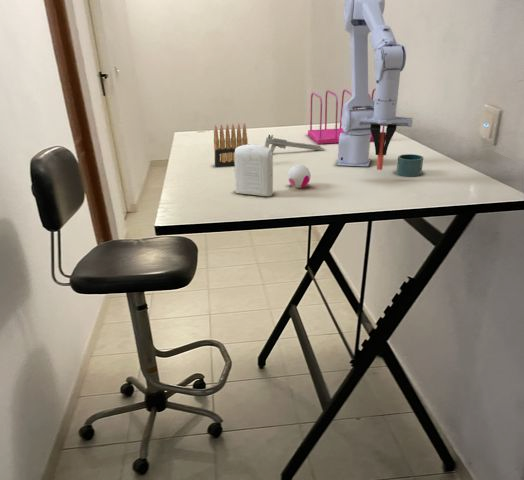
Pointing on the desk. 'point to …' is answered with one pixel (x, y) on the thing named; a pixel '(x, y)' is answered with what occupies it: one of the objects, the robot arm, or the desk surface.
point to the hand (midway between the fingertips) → (380, 154)
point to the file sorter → (326, 134)
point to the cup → (409, 165)
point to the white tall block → (254, 170)
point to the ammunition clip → (228, 145)
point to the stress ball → (299, 176)
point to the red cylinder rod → (381, 150)
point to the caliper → (288, 144)
